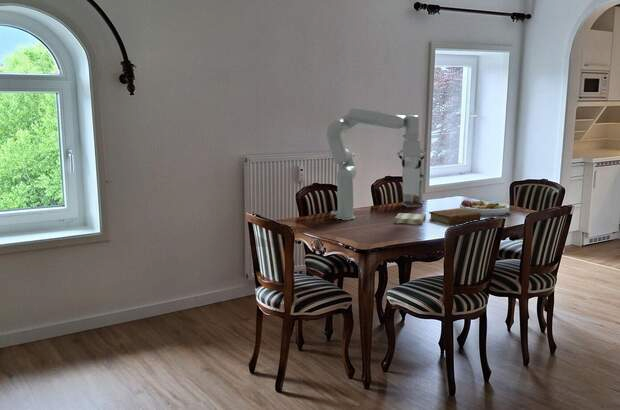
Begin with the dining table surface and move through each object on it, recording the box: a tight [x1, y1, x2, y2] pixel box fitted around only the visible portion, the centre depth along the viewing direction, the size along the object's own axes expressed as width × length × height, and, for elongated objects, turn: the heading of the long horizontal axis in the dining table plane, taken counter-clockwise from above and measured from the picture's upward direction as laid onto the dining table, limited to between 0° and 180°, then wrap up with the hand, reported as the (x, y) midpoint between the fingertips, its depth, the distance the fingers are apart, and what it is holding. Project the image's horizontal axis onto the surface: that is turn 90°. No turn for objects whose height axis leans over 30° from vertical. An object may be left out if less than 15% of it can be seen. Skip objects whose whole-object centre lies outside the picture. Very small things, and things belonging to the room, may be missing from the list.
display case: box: [401, 153, 425, 208], centre depth 409 cm, size 11×11×35 cm
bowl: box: [459, 199, 510, 217], centre depth 384 cm, size 30×30×8 cm
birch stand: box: [394, 212, 427, 225], centre depth 360 cm, size 16×16×3 cm
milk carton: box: [402, 161, 420, 195], centre depth 355 cm, size 7×7×19 cm
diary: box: [429, 207, 482, 227], centre depth 359 cm, size 23×19×6 cm
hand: (411, 167), depth 354 cm, fingers closed on milk carton, 8 cm apart
